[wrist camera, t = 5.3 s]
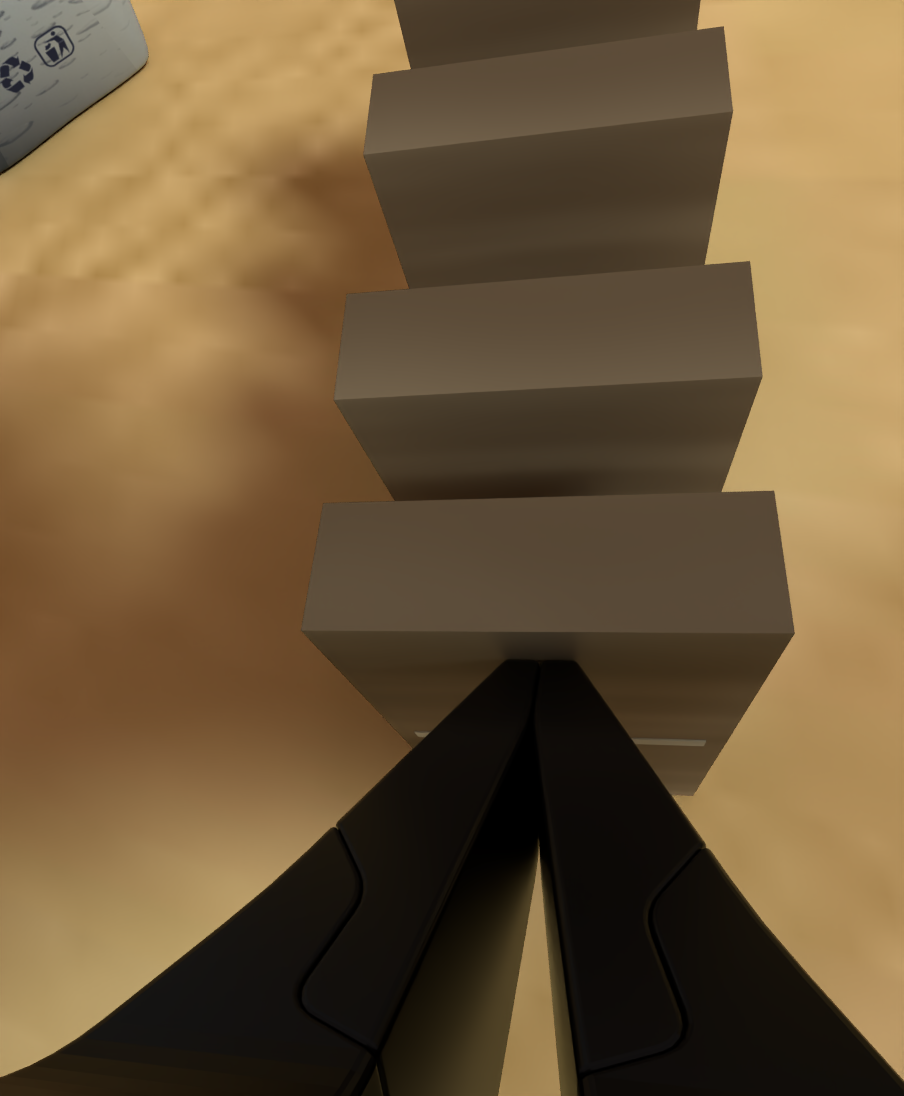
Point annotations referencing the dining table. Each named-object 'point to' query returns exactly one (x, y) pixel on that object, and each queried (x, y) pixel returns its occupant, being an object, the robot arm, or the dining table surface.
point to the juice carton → (60, 64)
